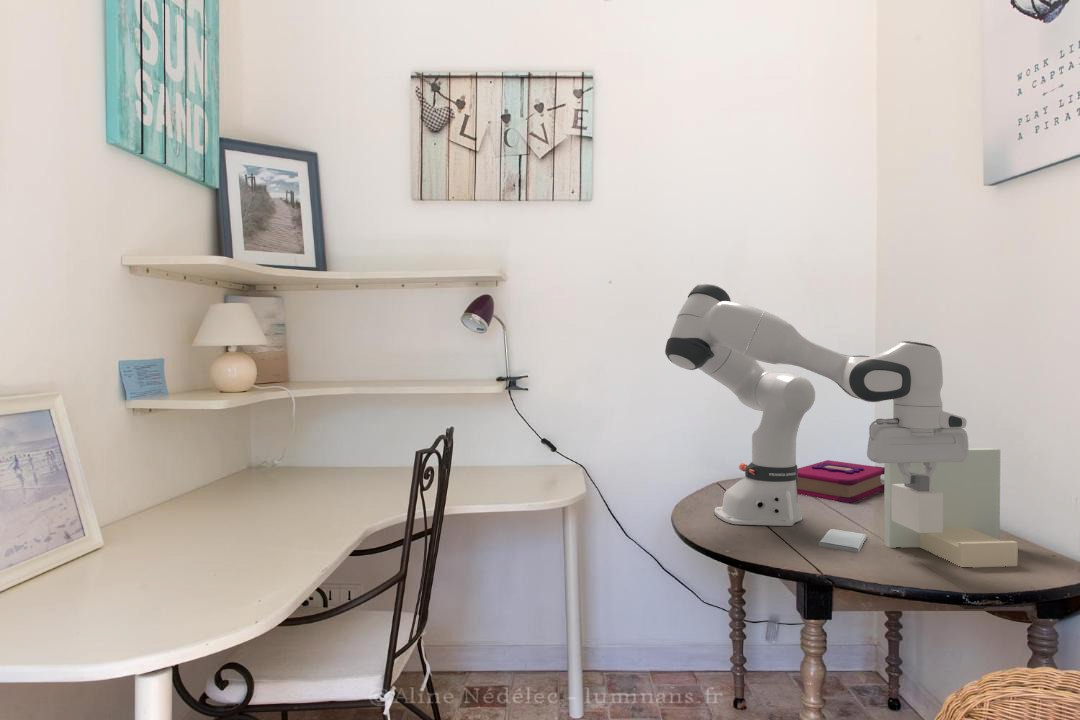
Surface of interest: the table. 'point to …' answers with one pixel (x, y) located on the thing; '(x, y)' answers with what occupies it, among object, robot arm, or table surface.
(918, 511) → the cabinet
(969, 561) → the board
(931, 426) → the robot arm
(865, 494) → the book
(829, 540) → the hard drive
